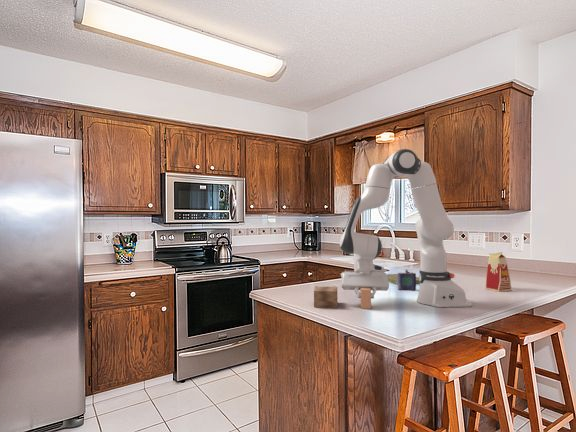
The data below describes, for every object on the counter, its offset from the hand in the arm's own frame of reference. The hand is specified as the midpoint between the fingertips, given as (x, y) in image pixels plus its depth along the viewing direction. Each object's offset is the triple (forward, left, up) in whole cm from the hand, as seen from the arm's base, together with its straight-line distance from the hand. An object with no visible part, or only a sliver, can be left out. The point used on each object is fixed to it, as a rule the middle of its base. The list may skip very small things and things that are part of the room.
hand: (365, 297), depth 155 cm
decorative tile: (-26, -64, -5) cm, 69 cm away
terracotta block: (0, -1, -4) cm, 4 cm away
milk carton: (-71, -46, -5) cm, 85 cm away
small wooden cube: (+17, -4, -4) cm, 18 cm away
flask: (-24, -40, -5) cm, 47 cm away
